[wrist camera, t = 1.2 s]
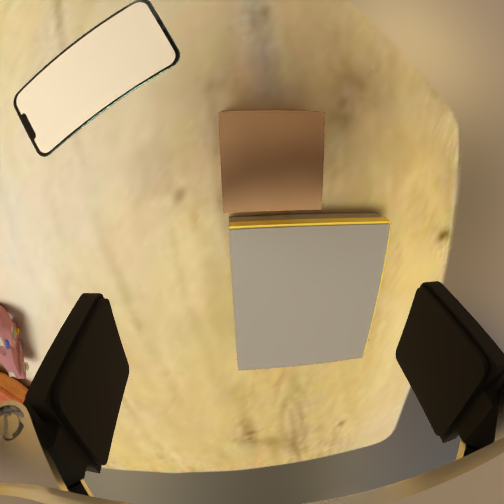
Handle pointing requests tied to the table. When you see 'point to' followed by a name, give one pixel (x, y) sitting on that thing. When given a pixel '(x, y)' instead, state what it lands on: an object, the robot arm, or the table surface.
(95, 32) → the smartphone
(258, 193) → the brown wooden block
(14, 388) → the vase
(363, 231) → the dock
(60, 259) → the table surface
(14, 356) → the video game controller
